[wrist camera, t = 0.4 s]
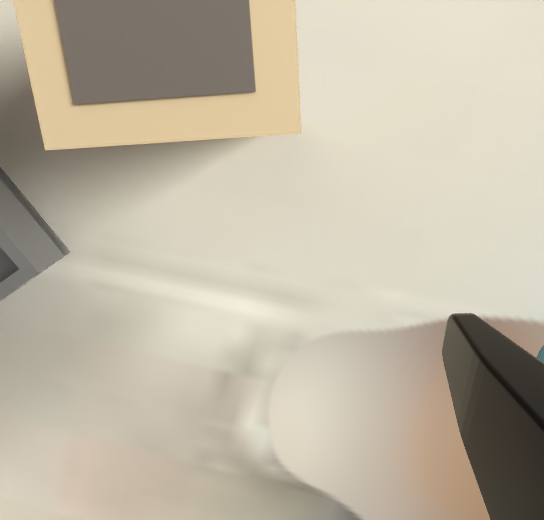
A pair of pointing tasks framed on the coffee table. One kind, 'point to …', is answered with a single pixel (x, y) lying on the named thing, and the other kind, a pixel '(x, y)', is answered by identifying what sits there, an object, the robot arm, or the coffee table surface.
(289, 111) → the kraft box
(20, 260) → the tray
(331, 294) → the coffee table surface
